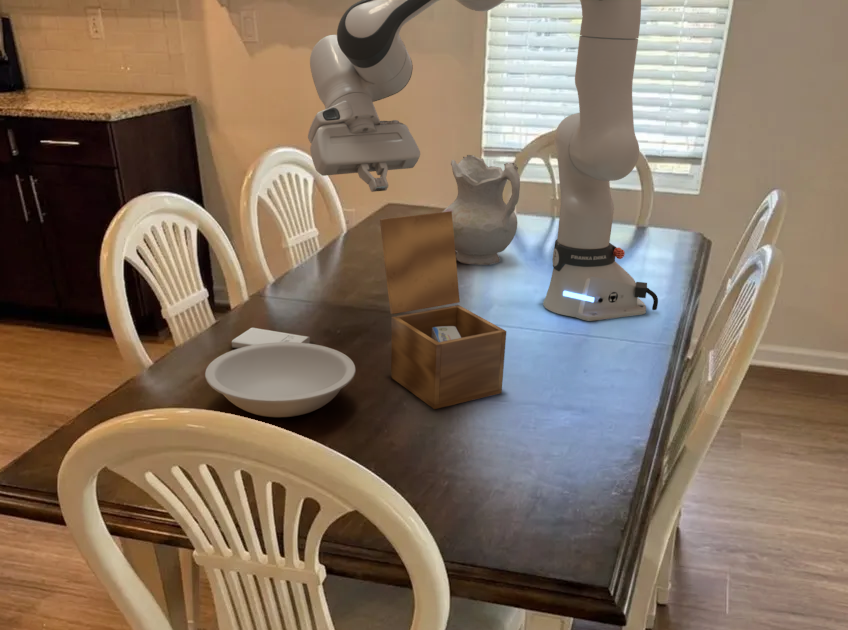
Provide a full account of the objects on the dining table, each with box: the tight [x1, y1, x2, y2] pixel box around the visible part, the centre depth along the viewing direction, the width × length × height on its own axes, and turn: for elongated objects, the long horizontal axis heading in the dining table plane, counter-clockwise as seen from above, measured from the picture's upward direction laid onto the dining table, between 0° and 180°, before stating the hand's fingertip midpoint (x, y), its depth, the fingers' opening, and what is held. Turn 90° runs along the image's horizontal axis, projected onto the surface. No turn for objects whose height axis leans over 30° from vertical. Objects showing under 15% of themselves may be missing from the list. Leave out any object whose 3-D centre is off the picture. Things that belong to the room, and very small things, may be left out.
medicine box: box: [431, 326, 461, 342], centre depth 147 cm, size 8×4×9 cm, turn 9°
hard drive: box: [231, 327, 311, 349], centre depth 163 cm, size 2×8×12 cm
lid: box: [379, 211, 461, 315], centre depth 146 cm, size 16×14×1 cm
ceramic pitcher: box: [442, 154, 521, 266], centre depth 212 cm, size 22×20×25 cm
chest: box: [390, 304, 507, 410], centre depth 147 cm, size 15×14×11 cm
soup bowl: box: [204, 342, 356, 418], centre depth 139 cm, size 24×24×7 cm
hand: (380, 189), depth 152 cm, fingers closed
